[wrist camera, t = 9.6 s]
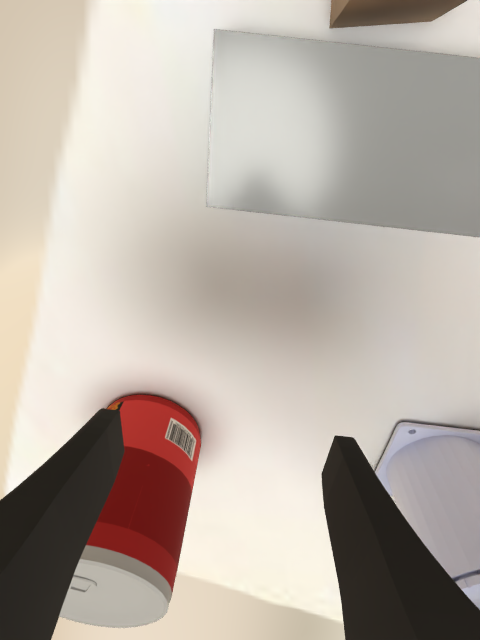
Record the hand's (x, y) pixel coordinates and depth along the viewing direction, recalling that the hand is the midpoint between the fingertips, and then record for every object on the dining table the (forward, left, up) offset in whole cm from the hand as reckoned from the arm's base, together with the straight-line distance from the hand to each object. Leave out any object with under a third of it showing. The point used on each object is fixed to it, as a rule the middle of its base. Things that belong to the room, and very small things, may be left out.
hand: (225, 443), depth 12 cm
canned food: (+6, +12, -11) cm, 17 cm away
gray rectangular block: (-4, -9, -10) cm, 14 cm away
